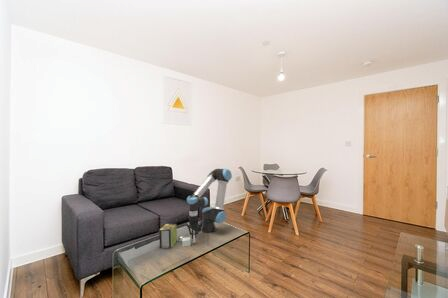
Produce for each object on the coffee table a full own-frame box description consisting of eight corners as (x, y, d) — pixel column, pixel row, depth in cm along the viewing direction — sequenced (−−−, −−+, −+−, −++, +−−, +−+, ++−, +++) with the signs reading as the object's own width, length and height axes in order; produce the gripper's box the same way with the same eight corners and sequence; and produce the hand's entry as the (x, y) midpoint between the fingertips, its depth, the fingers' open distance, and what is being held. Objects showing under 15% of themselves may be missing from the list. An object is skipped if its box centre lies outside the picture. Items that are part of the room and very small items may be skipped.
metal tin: (178, 239, 192) (178, 235, 192) (185, 239, 193) (185, 234, 193) (177, 242, 186) (177, 238, 186) (184, 242, 187) (184, 237, 187)
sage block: (182, 243, 184) (182, 237, 184) (190, 242, 185) (190, 237, 185) (182, 246, 177) (182, 240, 177) (190, 246, 178) (190, 240, 178)
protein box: (177, 240, 190) (176, 223, 191) (171, 248, 175) (170, 229, 175) (166, 240, 191) (165, 223, 192) (159, 248, 176) (158, 229, 176)
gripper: (186, 217, 178) (186, 244, 177) (201, 215, 180) (201, 243, 179) (186, 214, 186) (187, 241, 185) (200, 213, 187) (201, 239, 187)
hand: (194, 242), depth 182 cm, fingers closed
